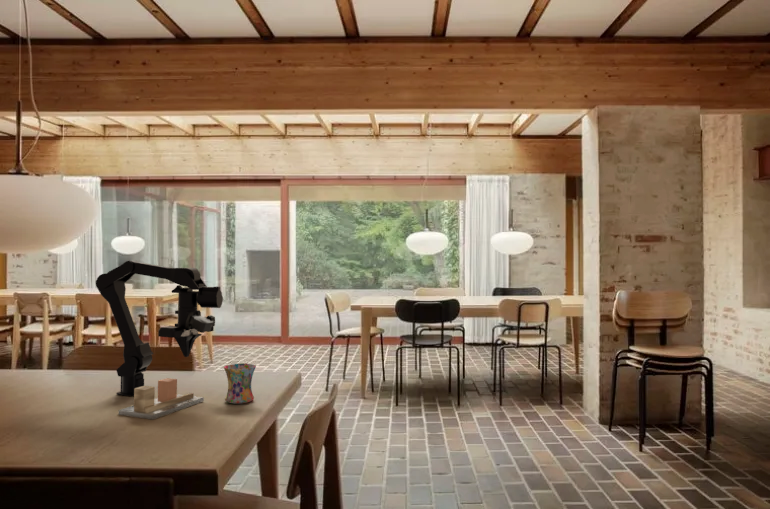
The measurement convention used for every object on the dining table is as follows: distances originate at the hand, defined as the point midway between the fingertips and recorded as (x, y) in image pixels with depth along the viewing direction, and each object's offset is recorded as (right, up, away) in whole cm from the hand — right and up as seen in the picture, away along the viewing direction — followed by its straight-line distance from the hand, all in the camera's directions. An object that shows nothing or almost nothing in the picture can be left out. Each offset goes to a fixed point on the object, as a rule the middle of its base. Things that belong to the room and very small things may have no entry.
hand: (186, 356), depth 167 cm
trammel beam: (0, -10, -16) cm, 19 cm away
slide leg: (0, -10, -14) cm, 17 cm away
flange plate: (-1, -12, -16) cm, 19 cm away
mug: (+18, -12, -7) cm, 23 cm away
